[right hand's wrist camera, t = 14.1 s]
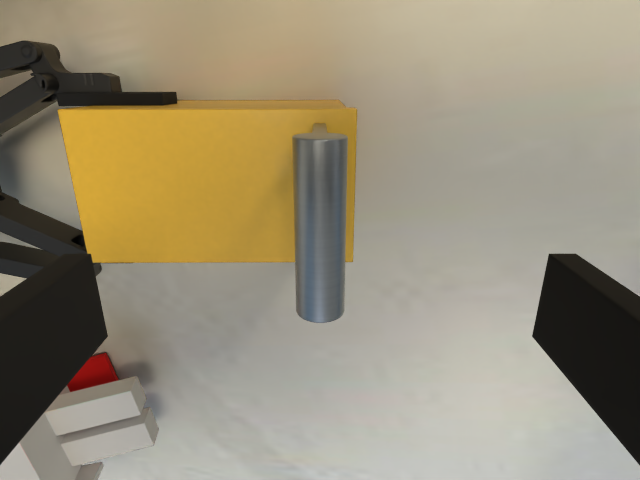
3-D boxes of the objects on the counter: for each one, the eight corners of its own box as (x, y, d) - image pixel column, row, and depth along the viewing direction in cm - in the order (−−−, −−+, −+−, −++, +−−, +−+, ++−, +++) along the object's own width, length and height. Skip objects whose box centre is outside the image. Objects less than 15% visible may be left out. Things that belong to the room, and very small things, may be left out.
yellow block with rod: (355, 107, 24) (375, 122, 15) (351, 255, 27) (366, 335, 19) (68, 108, 24) (-71, 123, 15) (97, 256, 27) (-4, 336, 19)
